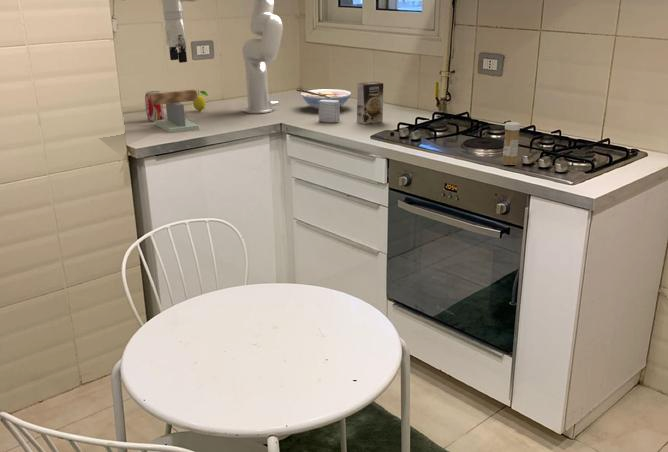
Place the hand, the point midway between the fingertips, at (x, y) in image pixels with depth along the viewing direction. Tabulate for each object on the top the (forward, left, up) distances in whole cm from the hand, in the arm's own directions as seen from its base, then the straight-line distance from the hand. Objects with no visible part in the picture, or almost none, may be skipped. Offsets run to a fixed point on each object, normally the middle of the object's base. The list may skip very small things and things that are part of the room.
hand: (178, 61), depth 261 cm
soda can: (+8, -14, -26) cm, 31 cm away
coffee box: (-65, +41, -26) cm, 81 cm away
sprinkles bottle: (-64, +120, -26) cm, 138 cm away
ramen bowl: (-65, +6, -26) cm, 71 cm away
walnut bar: (+4, +4, -16) cm, 16 cm away
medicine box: (-52, +30, -26) cm, 65 cm away
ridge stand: (+5, +4, -26) cm, 26 cm away
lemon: (-15, -22, -26) cm, 37 cm away
